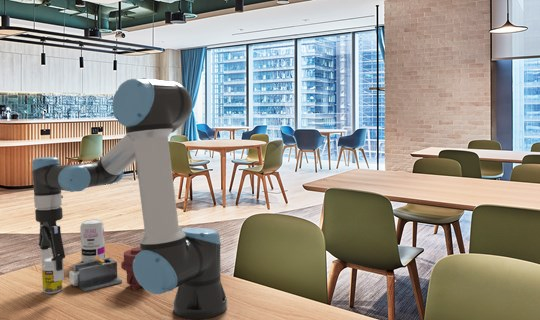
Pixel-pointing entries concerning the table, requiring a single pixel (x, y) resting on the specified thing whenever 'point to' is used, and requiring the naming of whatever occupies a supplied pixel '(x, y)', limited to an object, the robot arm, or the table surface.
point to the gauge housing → (97, 274)
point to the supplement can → (92, 240)
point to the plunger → (75, 274)
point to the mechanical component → (130, 267)
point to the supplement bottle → (50, 278)
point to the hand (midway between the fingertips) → (52, 274)
